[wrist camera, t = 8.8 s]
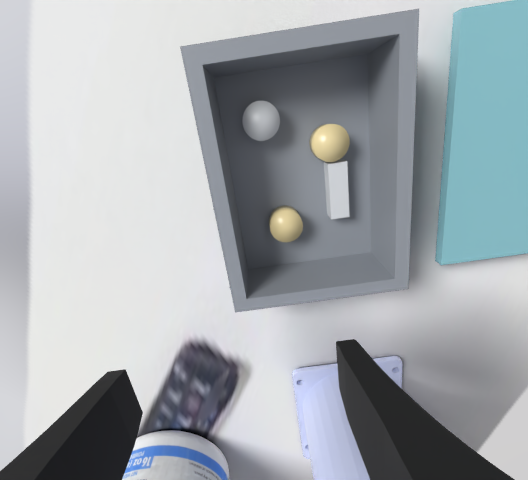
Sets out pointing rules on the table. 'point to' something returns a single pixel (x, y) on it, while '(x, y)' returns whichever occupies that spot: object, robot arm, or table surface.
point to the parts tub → (310, 156)
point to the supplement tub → (175, 458)
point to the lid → (486, 136)
